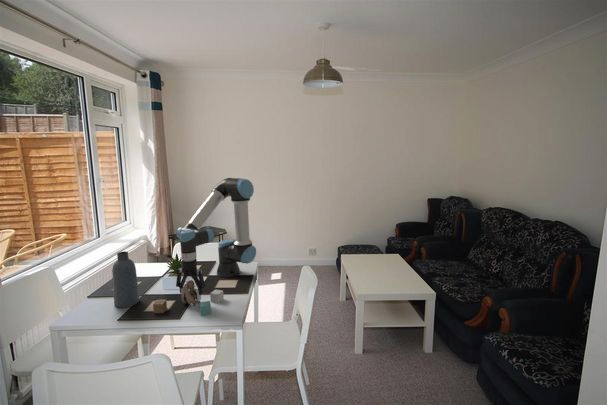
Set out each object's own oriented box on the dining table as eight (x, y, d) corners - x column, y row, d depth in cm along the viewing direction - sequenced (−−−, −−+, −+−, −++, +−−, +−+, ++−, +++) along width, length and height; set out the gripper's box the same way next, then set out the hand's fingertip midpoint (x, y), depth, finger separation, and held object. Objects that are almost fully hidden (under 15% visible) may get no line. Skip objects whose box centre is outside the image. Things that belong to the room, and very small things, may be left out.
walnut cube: (157, 308, 171) (156, 299, 170) (166, 308, 171) (166, 299, 171) (153, 313, 166) (153, 304, 165) (163, 313, 166) (163, 303, 166)
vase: (113, 310, 169) (108, 258, 165) (114, 300, 180) (110, 251, 175) (139, 305, 175) (135, 254, 170) (139, 296, 185) (135, 248, 181)
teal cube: (200, 311, 168) (199, 302, 167) (210, 309, 170) (209, 300, 169) (200, 316, 164) (200, 306, 163) (211, 314, 165) (210, 305, 164)
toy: (205, 299, 180) (198, 277, 173) (194, 310, 173) (186, 288, 166) (192, 296, 183) (185, 275, 177) (182, 307, 176) (173, 285, 170)
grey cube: (215, 297, 183) (215, 289, 183) (223, 299, 182) (223, 290, 181) (210, 301, 179) (210, 293, 178) (218, 303, 177) (218, 294, 176)
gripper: (166, 260, 170) (169, 301, 174) (204, 262, 167) (206, 304, 171) (174, 255, 178) (177, 295, 181) (210, 258, 174) (212, 297, 178)
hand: (191, 299), depth 176 cm, fingers closed on toy, 8 cm apart
